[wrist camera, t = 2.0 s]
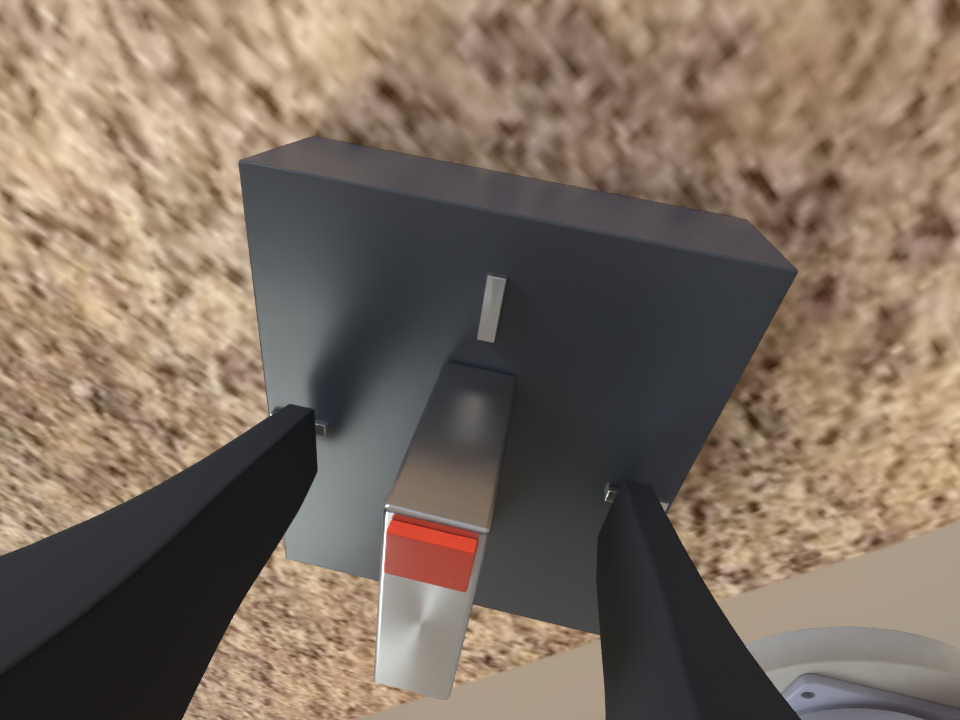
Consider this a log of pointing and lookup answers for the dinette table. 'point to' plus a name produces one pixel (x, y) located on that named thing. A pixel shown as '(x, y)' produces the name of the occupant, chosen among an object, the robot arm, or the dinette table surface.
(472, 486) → the tap handle
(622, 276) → the block
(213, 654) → the robot arm
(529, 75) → the dinette table surface
